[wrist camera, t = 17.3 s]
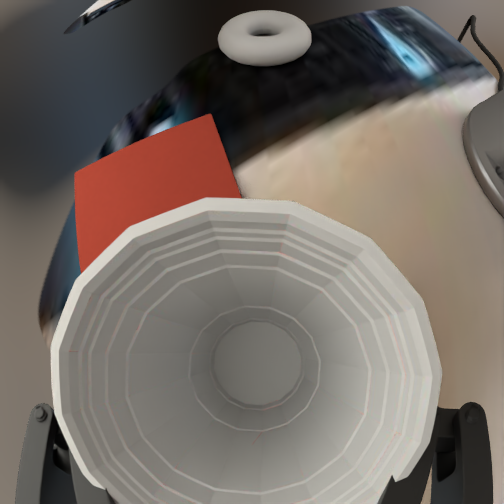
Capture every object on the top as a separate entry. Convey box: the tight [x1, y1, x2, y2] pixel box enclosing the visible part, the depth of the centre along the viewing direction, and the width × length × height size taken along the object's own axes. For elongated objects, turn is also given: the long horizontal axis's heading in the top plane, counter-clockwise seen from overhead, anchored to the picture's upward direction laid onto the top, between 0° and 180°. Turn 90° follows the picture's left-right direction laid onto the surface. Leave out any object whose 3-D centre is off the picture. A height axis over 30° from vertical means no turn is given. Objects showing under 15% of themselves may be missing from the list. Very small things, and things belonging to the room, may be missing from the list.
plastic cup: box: [51, 197, 442, 504], centre depth 11 cm, size 11×11×12 cm
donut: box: [218, 10, 311, 66], centre depth 24 cm, size 10×3×10 cm
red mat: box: [75, 114, 242, 274], centre depth 22 cm, size 12×14×1 cm
